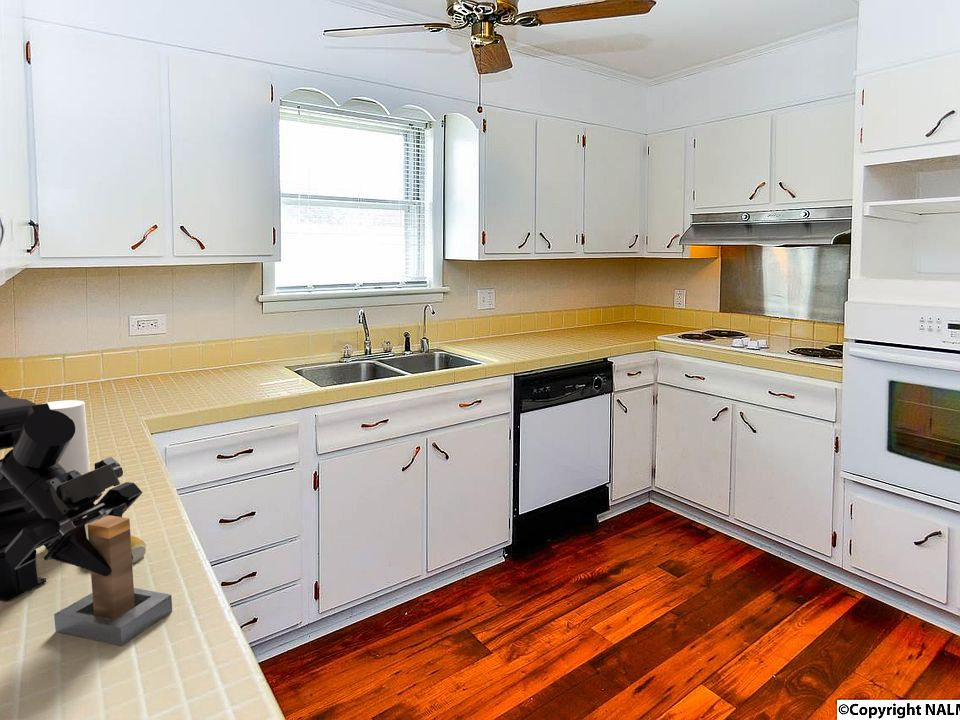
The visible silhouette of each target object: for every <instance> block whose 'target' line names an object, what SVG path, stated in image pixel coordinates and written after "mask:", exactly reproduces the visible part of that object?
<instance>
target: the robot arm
mask: <svg viewBox="0 0 960 720" xmlns="http://www.w3.org/2000/svg"><path fill="white" fill-rule="evenodd" d="M74 434H75V424H74V422H73V420H72V419H70V418H69V417H68V416H67V415H65V414H64V413H61V412H59V411H55V410H50V408H49V406H48V404H47V402H44V404H42V403H39V404H36V403H35V402H33V401H31V400H29V399H26V398H20V397H19V398H18V397H11V396H9V395H8V394H7V393H6V391H5V392H4V390H3V389H1V388H0V451H1V450H7V449H11V450H9V451H8V452H7V453H6V454H5V455H4V457H3V458H1V459H0V601H3V602H9V601H12V600H13V599H16V598H18V597H20V596H21V595H23V594H25V593H28V592H30V591H31V590H33V589H35V588H37V587H39V586H41V585H44V584H46V583H47V578H45V577H40V576H38V571H37V570H38V569H37V568H38V567H37V560H36V558H37V556H36V555H37V549H38V548H41V547H42V546H44V548H45V550H46V551H47V553H46V554H45V555H44V556H43V557H42V559H43V560H44V561H49V560H53V561H57V562H60V563H65V564H68V565H72V566H74V567H78V568H81V569H84V570H87V571H90V572H91V571H92V572H95V573H97V574H100V575H103V576H108V575H109V574H110V573H111V572H112V570H111V568H110V567H109V565H108V563H107V562H106V561H105V559H104V558H103V557H102V556H101V555H100V554H99V552H98V551H97V550H96V549H95V548H94V546H93V545H92V544H91V543H90V542H89V541H88V539H87V535H86V529H85V524H87V523H88V524H90V523H92V522H95V521H97V520H99V519H102V518H104V517H106V516H108V515H110V516H117V517H123V515H124V514H125V513H126V511H127V510H128V509H130V507H131V506H132V505H133V504H134V503H135V502H136V501H137V500H138V498H139V497H140V496H141V495H142V494H143V491H142V490H141V489H140V488H139V487H138V485H137V484H136V483H135V482H131V481H130V482H129V481H128V482H127V481H125V482H123V483H121V482H120V480H119V478H121V477H123V476H124V475H123V474H124V470H123V467H122V465H120V463H119V462H118V461H117V460H116V459H114V458H113V457H112V456H109V457H106V458H103V459H102V460H99V461H98V462H95V463H94V469H93V470H90V472H88V473H86V474H83V475H81V474H80V473H79V472H78V471H75V470H73V471H70V472H68V473H67V472H66V471H65V470H64V469H63V467H62V466H61V465H60V464H59V463H58V462H59V461H60V459H61V458H62V456H63V455H64V453H65V451H66V449H67V447H68V445H69V443H70V442H71V440H72V438H73V436H74ZM111 487H112V488H111ZM107 489H109V490H108V491H107V492H106V493H105V494H104V495H103V493H104V492H105V491H106V490H107ZM100 498H101V499H100ZM97 500H99V501H98V502H96V501H97ZM95 502H96V504H95ZM84 516H87V517H85V518H83V517H84ZM132 559H133V556H132Z"/></svg>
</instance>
